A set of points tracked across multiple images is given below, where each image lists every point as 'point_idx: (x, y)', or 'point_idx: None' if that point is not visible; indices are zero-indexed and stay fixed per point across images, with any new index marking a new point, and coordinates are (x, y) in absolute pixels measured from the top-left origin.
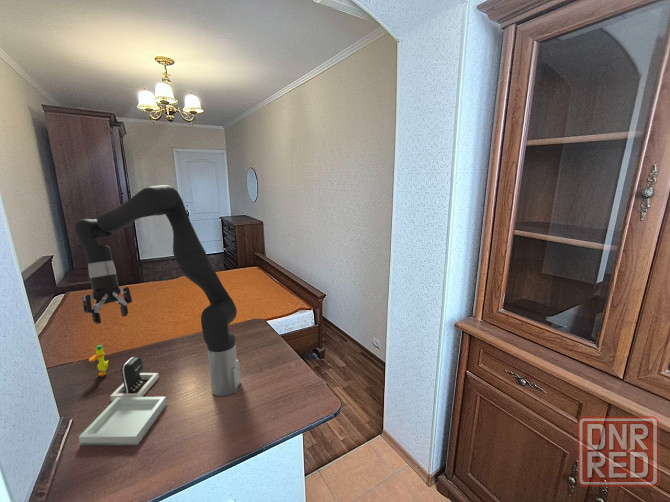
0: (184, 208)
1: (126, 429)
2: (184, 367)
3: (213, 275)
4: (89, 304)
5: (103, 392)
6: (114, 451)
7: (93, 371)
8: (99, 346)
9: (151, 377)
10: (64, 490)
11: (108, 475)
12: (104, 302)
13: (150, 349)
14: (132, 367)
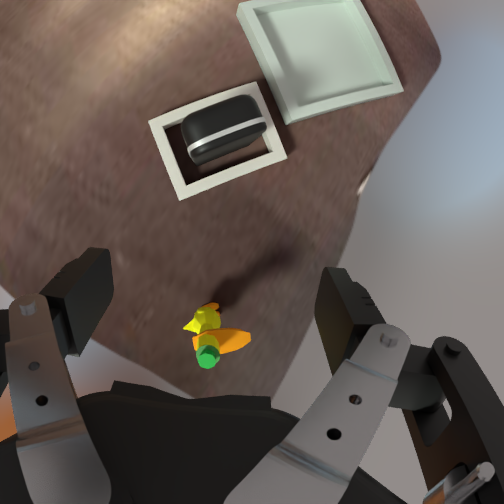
0: None
1: (336, 33)
2: (85, 99)
3: None
4: (483, 406)
5: (266, 219)
6: None
7: None
8: (209, 355)
9: (174, 119)
10: (434, 48)
11: (396, 6)
12: (287, 416)
13: None
14: (244, 94)
